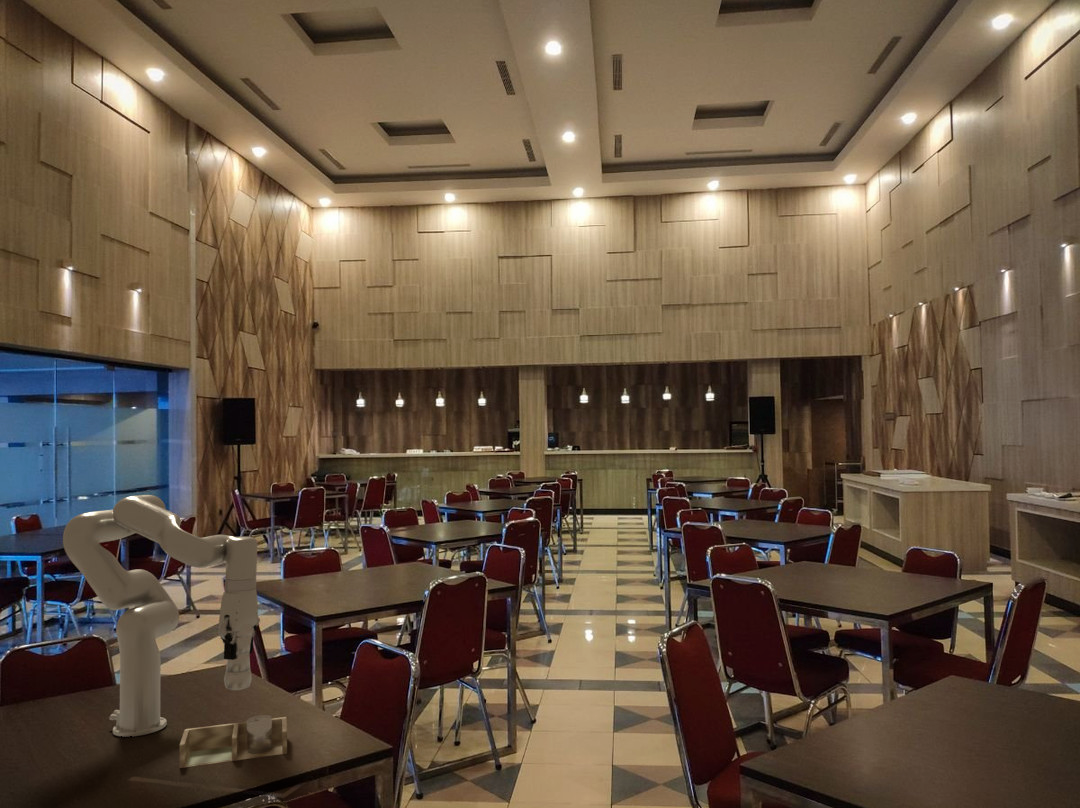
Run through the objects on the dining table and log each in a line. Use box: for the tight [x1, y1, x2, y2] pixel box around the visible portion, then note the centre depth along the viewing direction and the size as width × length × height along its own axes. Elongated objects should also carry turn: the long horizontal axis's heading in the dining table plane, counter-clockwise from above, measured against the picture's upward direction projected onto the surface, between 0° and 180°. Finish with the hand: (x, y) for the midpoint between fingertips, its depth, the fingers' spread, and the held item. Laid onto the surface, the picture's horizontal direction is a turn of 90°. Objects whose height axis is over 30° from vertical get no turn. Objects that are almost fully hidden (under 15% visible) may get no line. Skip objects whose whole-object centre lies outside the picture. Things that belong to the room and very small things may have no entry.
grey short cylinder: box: [246, 714, 273, 754], centre depth 188 cm, size 6×6×7 cm
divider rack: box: [179, 716, 288, 769], centre depth 187 cm, size 23×11×6 cm, turn 109°
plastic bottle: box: [223, 624, 253, 691], centre depth 204 cm, size 6×7×20 cm
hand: (238, 655), depth 204 cm, fingers closed on plastic bottle, 6 cm apart
